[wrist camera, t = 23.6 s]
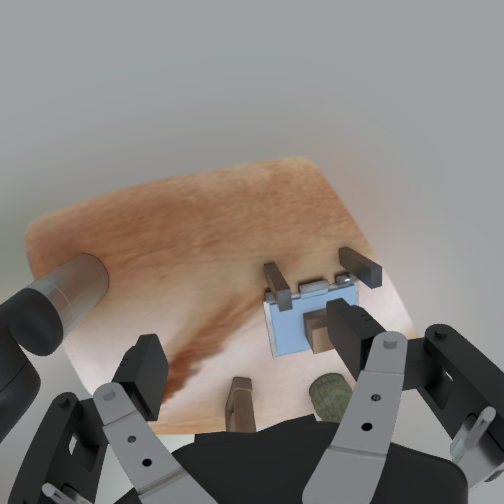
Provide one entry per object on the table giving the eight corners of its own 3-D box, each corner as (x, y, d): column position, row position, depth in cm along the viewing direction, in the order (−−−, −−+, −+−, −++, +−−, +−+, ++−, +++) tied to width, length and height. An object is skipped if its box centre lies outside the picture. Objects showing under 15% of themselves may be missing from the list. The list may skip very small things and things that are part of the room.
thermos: (346, 363, 53) (423, 487, 20) (342, 398, 57) (400, 510, 23) (308, 372, 53) (368, 512, 19) (308, 406, 56) (353, 529, 22)
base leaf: (272, 354, 51) (283, 395, 39) (256, 265, 46) (266, 293, 34) (356, 332, 52) (383, 365, 40) (353, 245, 47) (389, 264, 35)
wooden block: (224, 408, 54) (227, 472, 36) (234, 376, 51) (239, 444, 34) (240, 410, 54) (247, 473, 37) (251, 378, 52) (262, 445, 35)
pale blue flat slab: (277, 353, 50) (279, 358, 48) (267, 290, 46) (268, 294, 44) (354, 333, 50) (357, 337, 49) (353, 271, 47) (357, 274, 45)
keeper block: (304, 336, 48) (314, 354, 42) (302, 313, 47) (312, 330, 41) (330, 329, 48) (341, 346, 43) (328, 306, 47) (341, 322, 41)
